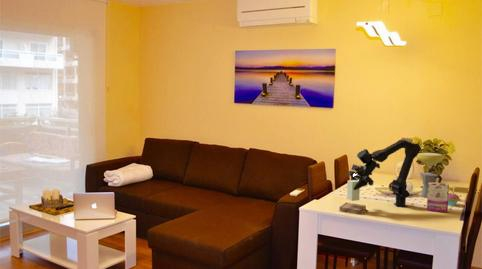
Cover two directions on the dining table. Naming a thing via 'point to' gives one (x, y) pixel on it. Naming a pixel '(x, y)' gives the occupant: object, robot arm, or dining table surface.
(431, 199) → the candy bar box
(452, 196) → the cupcake
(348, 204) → the walnut base
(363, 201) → the dining table surface
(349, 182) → the sage block
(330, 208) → the dining table surface
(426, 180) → the coffeepot
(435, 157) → the cocktail glass
